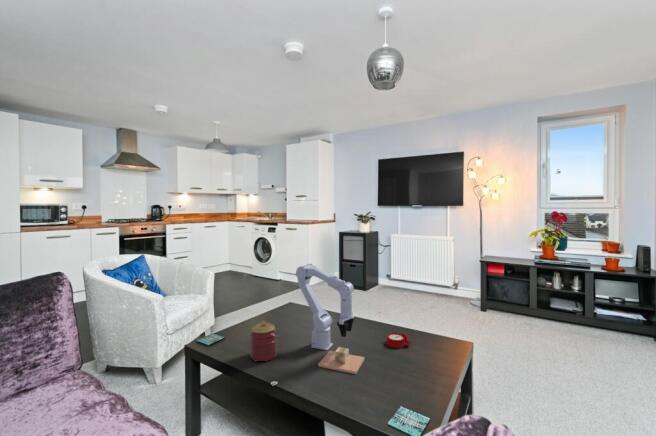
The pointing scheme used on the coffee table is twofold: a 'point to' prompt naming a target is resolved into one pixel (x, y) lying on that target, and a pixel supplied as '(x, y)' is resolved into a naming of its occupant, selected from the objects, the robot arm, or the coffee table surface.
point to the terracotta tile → (349, 367)
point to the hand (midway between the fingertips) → (346, 333)
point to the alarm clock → (397, 340)
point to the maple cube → (342, 355)
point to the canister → (263, 342)
